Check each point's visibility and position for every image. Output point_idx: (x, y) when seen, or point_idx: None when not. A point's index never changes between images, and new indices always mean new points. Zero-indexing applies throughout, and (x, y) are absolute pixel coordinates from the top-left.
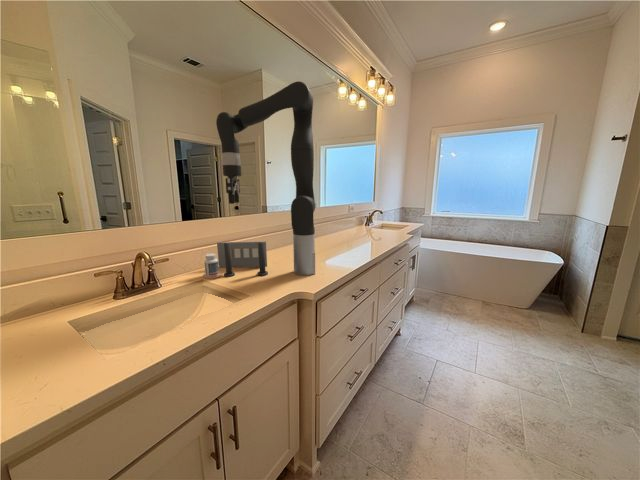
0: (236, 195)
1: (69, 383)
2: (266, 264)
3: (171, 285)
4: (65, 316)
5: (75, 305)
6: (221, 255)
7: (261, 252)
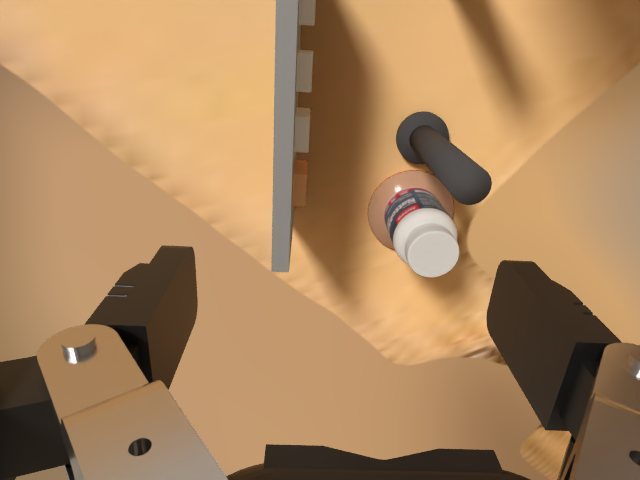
0: (157, 349)
1: None
2: None
3: (485, 322)
4: None
5: None
6: (292, 219)
7: None
